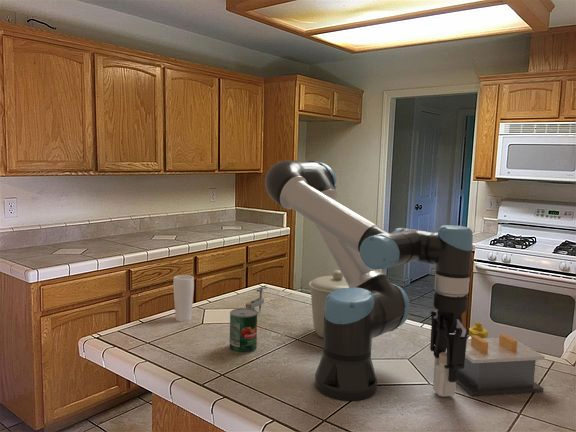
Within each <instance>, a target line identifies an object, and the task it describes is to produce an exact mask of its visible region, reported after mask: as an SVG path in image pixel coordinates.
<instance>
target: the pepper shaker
mask: <svg viewBox="0 0 576 432" xmlns="http://www.w3.org/2000/svg"><path fill="white" fill-rule="evenodd" d="M444 365H447V351H446V352H441V353H440V354H439V365H436V366H435V367H433V379H434V381H432V384H433V385H432V389H433V391H434V392H435V393H436V394H437V395H438V396H439V397H454V396H455V394H456V393H455V394H443V383H444V370H445V367H444Z"/></svg>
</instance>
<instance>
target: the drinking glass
mask: <svg viewBox="0 0 576 432" xmlns="http://www.w3.org/2000/svg"><path fill="white" fill-rule="evenodd" d="M172 281H173V282H172V286H173V287H172V288H173V300H174V312H175V313H174V315H175V321H177V322H181V323H185V322H189V321H191V320H192V313H193V312H192V311H193V304H194V301H193V299H194V294H195V293H194V291H195V277H194V275H190V274H181V275H180V274H179V275H175V276H173V280H172Z"/></svg>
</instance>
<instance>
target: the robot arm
mask: <svg viewBox="0 0 576 432" xmlns="http://www.w3.org/2000/svg"><path fill="white" fill-rule="evenodd" d="M336 183H337V177H336V175H335V172H334V171H333V169H332V168H331V167H330V166H329V165H327V164H326V163H324V162H320V161H316V160H308V161H303V160H302V161H301V160H288V159H287V160H280V161H278V162H277V163H275V164H273V165H272V166H271V167H270V168H269V169H268V171H267V173H266V175H265V178H264V186H265V187H264V188H265V191H266V192H267V195H268V196H269V197H270V199H271V200H272V201H274V202H275V203H276V204H278V205H279V206H280V207H282V208H284V209H286V210H293V211H295V212H297V213H299V215H301V216H303V217H304V218H306V219H307V220H309V221H311V222H313V224H314V226H315V228H316V229H317V231H318V232H319V235H320V236H321V238H322V240H323V242H324V243H325V245H326V248H327V249H328V251H329V252H330V255H331V256H332V258H333V260H334V262H335V264H336V265H337V267H338V270H340V271H341V273H342V275H343V276H344V278H345V280H346V282H347V284H348V286H349V288H341V289H337V290H335V291H333V292H331V293H330V294H329V295H328V296H327V298H326V301H325V308H324V338H323V347H322V349H323V350H322V356H321V358H320V361H319V363H318V367H317V369H316V371H315V375H314V386H315V389H316V390H317V391H319V393H321V394H323V395H324V396H327V397H329V398H332V399H335V400H342V401H361V400H365V399H368V398H371V397H373V396H374V395H375V394H376V392H377V389H378V388H377V387H378V378H377V373H376V371H375V368H374V364H373V360H372V347H373V345H372V344H373V343H372V342H373V339H374V338H377V337H379V336H382V335H383V334H386V333H390V332H393V331H395V330H397V329H398V328H399V327H401V326H403V325H404V323H405V322H406V321H407V319H408V317H409V315H410V310H411V309H410V307H411V306H410V305H411V304H410V299H409V296H408V294H407V293H406V291H405V290H404V289H403V288H402V287H401V286H399V285H396V284H394V283H391V282H390V280H389V278H388V277H387V275H386V274H385V272H380V271H378V270H386V269H390V268H394V267H396V266H401V265H405V264H408V263H413V262H420V263H427V264H431V265H435V276H434V290H435V291H434V293H433V303H432V304H433V308H434V309H435V310H431V312H430V317H431V327H430V328H431V329H430V345H429V348H430V352H433V357H434V367H435V366H436V365H439V354H440V353H441V352H447V365H444V367H445V370H444V383H443V394H456V389H457V388H456V387H457V383H456V380H457V370H458V369H463V368H464V363H465V353H466V343H467V339H468V338H469V337H468V336H469V335H468V334H469V328H470V327H464V325H463V316H462V314H464V313H466V312H467V311H468V307H469V305H468V304H469V296H468V294H469V290H470V289H469V288H470V281H471V279H470V277H471V265H472V255H473V250H474V247H473V242H474V241H473V237H474V236H473V233H474V232H473V230H472V229H471V227H467V226H463V225H453V224H451V225H450V224H449V225H448V224H445V225H441V226H439V227H438V231H437V232H433V231H427V230H426V231H425V230H420V229H414V228H412V227H411V228H410V227H405V228H404V227H398V228H395V229H394V230H393V231H391V232H388V231H387V230H385V229H383V228H382V227H380V226H378V225H377V224H376V223H373V222H372V221H370V220H368V219H367V218H366V217H364V216H361V215H360V214H358V213H357V212H355V211H353V210H351V209H350V208H348V207H347V206H345V205H343V204H341V203H340V202H338V201H337V200H336V199H337V196H338V191H337V190H336V189H337V184H336ZM434 367H433V368H434ZM433 381H434V378H433ZM433 381H432V382H433Z"/></svg>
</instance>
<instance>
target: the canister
mask: <svg viewBox="0 0 576 432" xmlns="http://www.w3.org/2000/svg"><path fill="white" fill-rule="evenodd" d="M308 287H310V298H311V310H312V311H311V312H312V313H311V314H312V321H313V322H312V323H313V328H314V331H315V334H317V336H319V337H320V338H322V339H324V308H325V301H326V298H327V296H328V295H329V294H330V293H331V292H333V291H335V290H337V289H341V288H349V286H348V284H347V282H346V280H345V278H344V276H343V275H342V273H341V271H340V269H335V270H334V271H332V273H331V275H322V276H318V277H316V278H314V279H313V280H312V279H311V281H309V282H308Z"/></svg>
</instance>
